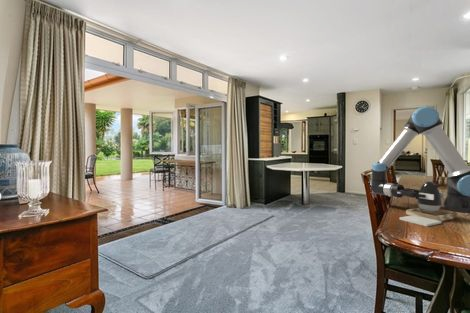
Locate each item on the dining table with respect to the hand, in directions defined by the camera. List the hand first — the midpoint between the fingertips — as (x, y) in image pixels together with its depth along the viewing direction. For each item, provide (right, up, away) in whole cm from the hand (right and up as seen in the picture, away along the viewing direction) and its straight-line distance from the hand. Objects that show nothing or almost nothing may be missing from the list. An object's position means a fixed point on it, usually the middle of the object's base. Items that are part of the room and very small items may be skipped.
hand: (439, 196), depth 125 cm
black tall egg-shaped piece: (-2, -8, +4) cm, 9 cm away
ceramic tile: (-14, -11, -6) cm, 19 cm away
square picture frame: (-2, -11, +4) cm, 12 cm away
